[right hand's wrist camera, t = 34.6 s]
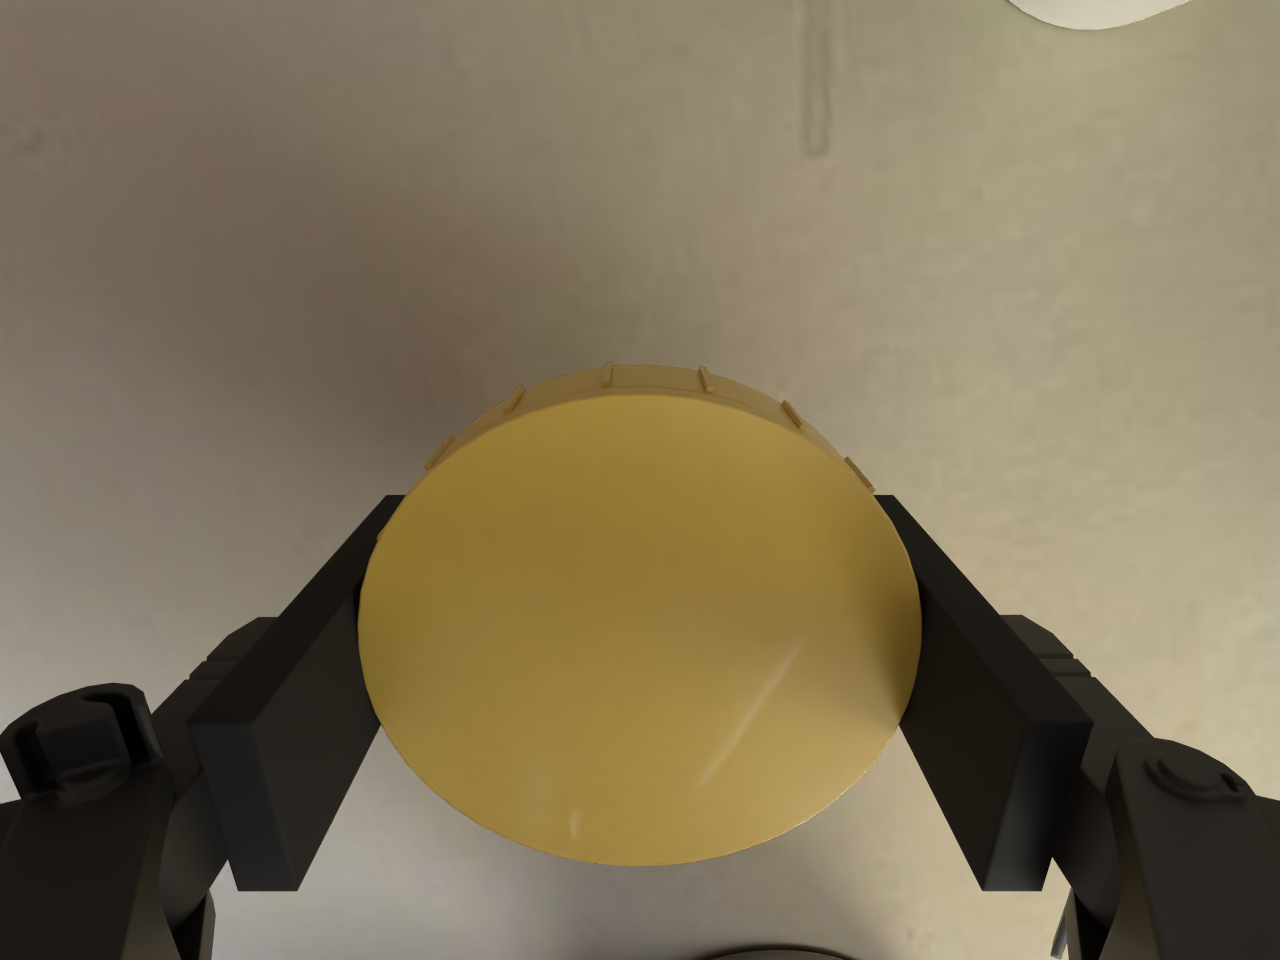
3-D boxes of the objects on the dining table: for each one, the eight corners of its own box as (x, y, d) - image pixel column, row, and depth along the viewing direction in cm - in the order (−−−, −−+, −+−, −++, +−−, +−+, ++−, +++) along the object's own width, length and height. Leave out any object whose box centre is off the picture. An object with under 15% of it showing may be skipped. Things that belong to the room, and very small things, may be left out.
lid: (969, 655, 13) (1021, 725, 11) (587, 850, 15) (580, 936, 13) (718, 243, 10) (734, 251, 8) (288, 548, 12) (229, 606, 10)
